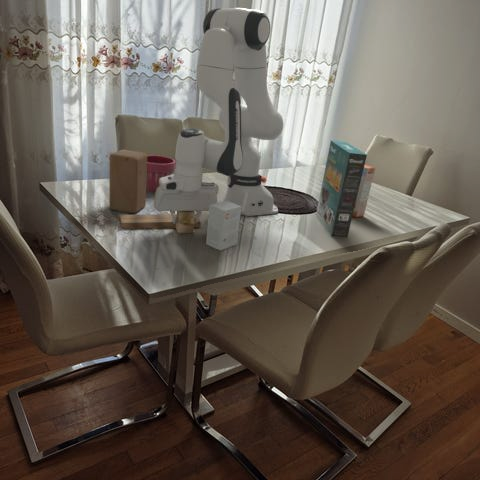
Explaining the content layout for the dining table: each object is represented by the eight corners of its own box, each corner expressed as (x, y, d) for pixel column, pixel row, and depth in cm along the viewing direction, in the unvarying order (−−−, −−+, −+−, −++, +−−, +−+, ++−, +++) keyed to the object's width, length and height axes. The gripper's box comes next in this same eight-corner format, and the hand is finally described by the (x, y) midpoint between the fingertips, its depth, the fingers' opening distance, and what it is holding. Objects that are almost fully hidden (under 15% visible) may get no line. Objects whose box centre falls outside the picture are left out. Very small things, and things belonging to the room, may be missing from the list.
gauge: (186, 222, 147) (188, 203, 144) (193, 232, 139) (195, 212, 137) (172, 222, 145) (173, 203, 142) (178, 233, 138) (179, 212, 135)
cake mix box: (347, 237, 152) (366, 154, 141) (331, 236, 152) (349, 152, 140) (330, 216, 172) (346, 142, 161) (315, 215, 171) (330, 140, 160)
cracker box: (364, 216, 178) (376, 167, 170) (355, 218, 174) (367, 168, 166) (338, 205, 187) (348, 158, 179) (329, 207, 184) (339, 159, 176)
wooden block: (135, 214, 148) (136, 158, 140) (108, 209, 149) (108, 153, 141) (146, 206, 157) (148, 152, 149) (121, 202, 158) (121, 148, 150)
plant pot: (170, 196, 171) (172, 165, 166) (135, 192, 171) (136, 160, 166) (175, 186, 184) (177, 157, 179) (143, 182, 184) (144, 153, 179)
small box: (222, 238, 138) (226, 200, 133) (237, 244, 135) (242, 206, 130) (205, 244, 132) (208, 204, 127) (220, 251, 129) (224, 210, 124)
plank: (195, 219, 151) (195, 214, 150) (200, 227, 145) (201, 221, 144) (119, 220, 141) (119, 214, 141) (121, 228, 135) (121, 222, 135)
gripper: (216, 179, 140) (212, 219, 146) (154, 178, 133) (152, 219, 138) (222, 185, 135) (217, 225, 140) (157, 184, 128) (155, 227, 133)
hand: (184, 222), depth 139 cm, fingers closed on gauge, 5 cm apart
